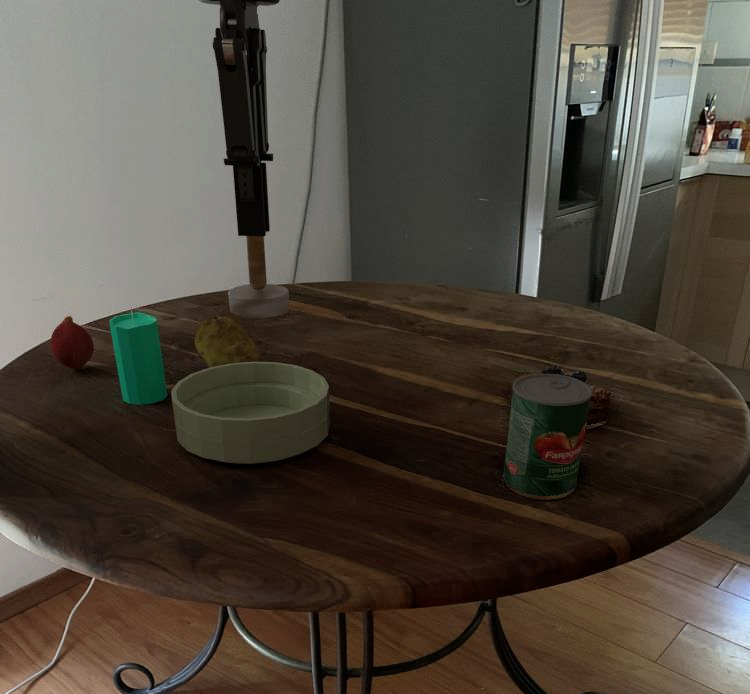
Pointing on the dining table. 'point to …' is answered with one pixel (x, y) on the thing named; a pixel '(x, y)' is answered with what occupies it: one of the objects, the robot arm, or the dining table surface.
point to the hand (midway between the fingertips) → (254, 232)
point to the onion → (71, 344)
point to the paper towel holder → (258, 287)
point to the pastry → (598, 399)
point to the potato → (225, 342)
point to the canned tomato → (546, 433)
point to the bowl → (251, 412)
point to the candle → (138, 358)
